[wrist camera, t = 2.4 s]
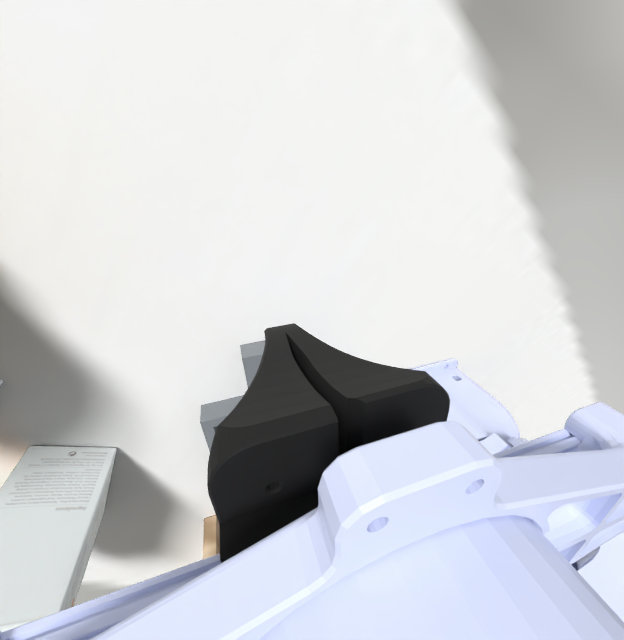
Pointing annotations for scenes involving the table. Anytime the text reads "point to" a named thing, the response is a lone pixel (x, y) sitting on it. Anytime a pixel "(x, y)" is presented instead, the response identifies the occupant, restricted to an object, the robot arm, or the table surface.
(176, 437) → the table surface
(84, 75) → the table surface
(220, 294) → the table surface
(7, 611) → the small box
